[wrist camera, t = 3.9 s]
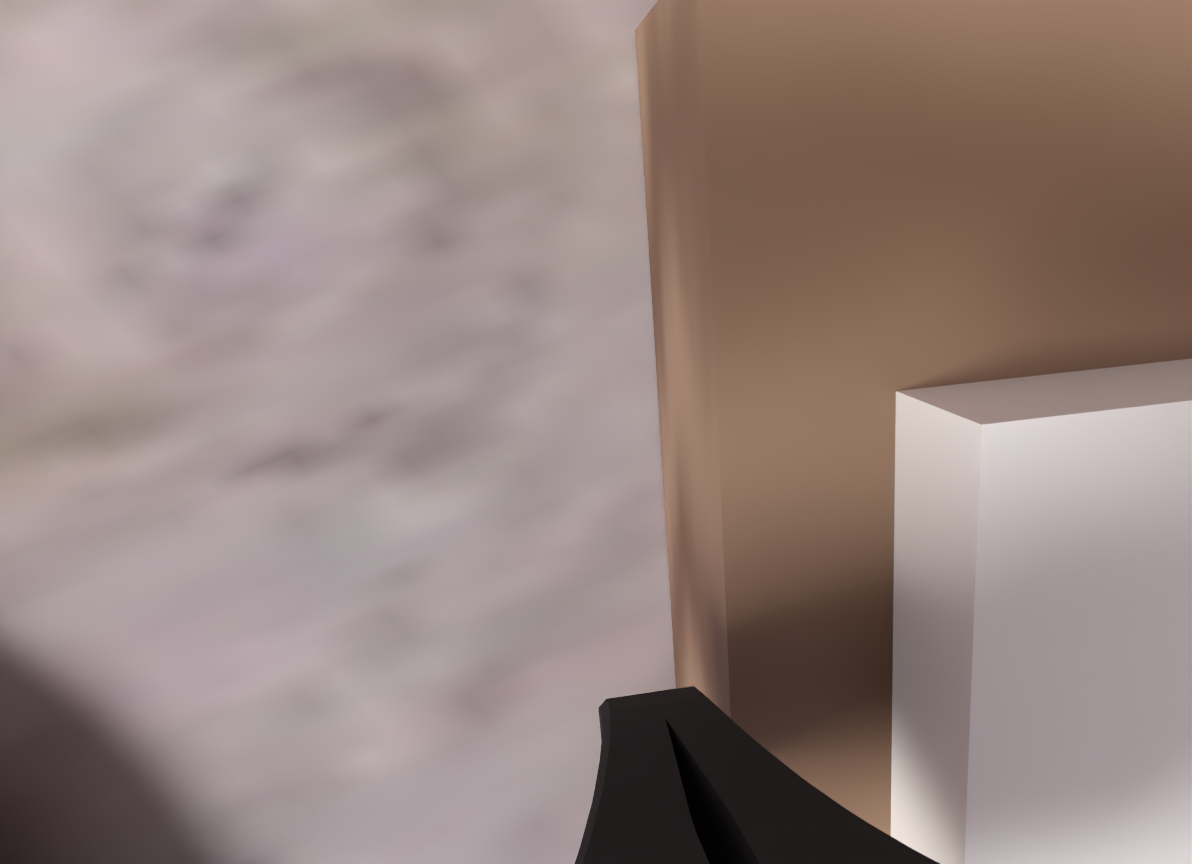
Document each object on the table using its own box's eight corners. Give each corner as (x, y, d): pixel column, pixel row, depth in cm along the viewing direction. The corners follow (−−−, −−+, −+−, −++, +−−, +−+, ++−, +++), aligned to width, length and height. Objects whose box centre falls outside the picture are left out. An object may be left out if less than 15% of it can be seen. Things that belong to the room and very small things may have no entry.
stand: (1260, 896, 20) (1445, 1056, 16) (695, 1004, 18) (751, 1207, 15) (1393, -14, 15) (1709, -97, 11) (635, 30, 13) (697, -51, 10)
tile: (1274, 858, 14) (1398, 957, 12) (889, 930, 13) (957, 1046, 12) (1352, 341, 12) (1518, 362, 10) (895, 390, 11) (981, 424, 9)
